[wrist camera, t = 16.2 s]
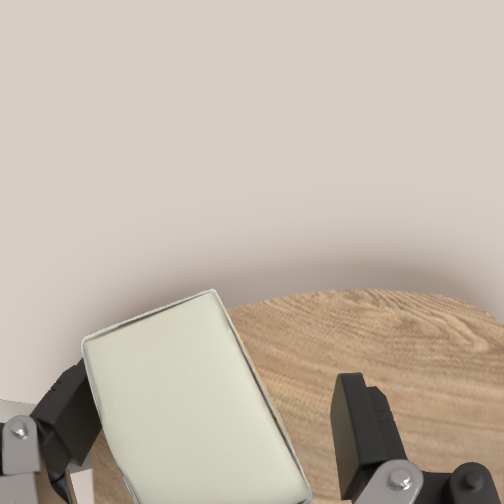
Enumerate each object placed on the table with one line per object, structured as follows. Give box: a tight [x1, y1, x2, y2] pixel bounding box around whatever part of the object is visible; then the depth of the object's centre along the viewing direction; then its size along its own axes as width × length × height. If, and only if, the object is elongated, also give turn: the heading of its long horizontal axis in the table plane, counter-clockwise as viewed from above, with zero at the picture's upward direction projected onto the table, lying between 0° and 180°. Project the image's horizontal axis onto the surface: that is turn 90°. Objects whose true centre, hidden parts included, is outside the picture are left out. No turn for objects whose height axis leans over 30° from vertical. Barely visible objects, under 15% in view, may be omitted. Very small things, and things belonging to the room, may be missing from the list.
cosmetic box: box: [81, 289, 313, 504], centre depth 11 cm, size 6×4×12 cm
